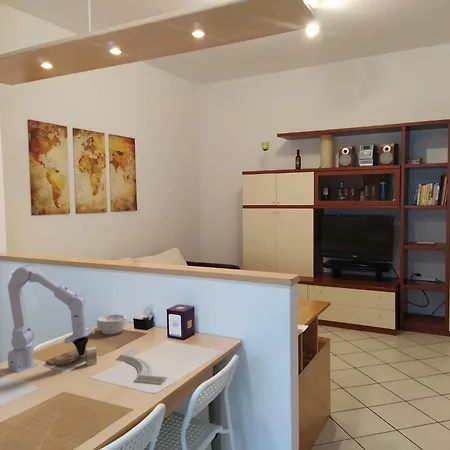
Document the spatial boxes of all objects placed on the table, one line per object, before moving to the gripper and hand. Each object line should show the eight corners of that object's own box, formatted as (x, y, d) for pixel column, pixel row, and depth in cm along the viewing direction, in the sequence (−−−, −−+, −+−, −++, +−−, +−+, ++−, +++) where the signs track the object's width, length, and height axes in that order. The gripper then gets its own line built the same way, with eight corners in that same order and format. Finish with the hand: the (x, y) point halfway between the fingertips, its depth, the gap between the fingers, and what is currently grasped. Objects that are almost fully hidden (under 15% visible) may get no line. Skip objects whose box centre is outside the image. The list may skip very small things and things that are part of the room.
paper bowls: (118, 325, 242) (118, 312, 241) (131, 332, 230) (131, 317, 230) (93, 331, 232) (92, 317, 231) (105, 338, 220) (104, 323, 220)
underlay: (65, 372, 178) (65, 371, 178) (41, 365, 186) (41, 365, 186) (100, 357, 194) (100, 356, 194) (77, 351, 202) (77, 351, 202)
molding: (170, 384, 166) (170, 376, 166) (140, 391, 160) (140, 383, 160) (136, 351, 203) (136, 345, 203) (111, 355, 197) (111, 349, 197)
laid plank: (53, 366, 184) (52, 362, 184) (45, 364, 187) (45, 360, 187) (82, 354, 198) (82, 350, 198) (75, 352, 200) (75, 349, 200)
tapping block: (95, 362, 189) (96, 364, 186) (85, 364, 186) (87, 366, 184) (94, 346, 188) (96, 348, 185) (85, 348, 186) (86, 350, 183)
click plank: (66, 363, 179) (65, 360, 180) (54, 366, 183) (54, 363, 184) (95, 351, 193) (94, 348, 193) (84, 354, 197) (83, 351, 197)
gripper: (71, 330, 177) (74, 361, 178) (98, 320, 190) (100, 350, 190) (60, 328, 181) (63, 359, 182) (87, 318, 193) (90, 348, 194)
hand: (81, 354), depth 186 cm, fingers closed, pressing on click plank
